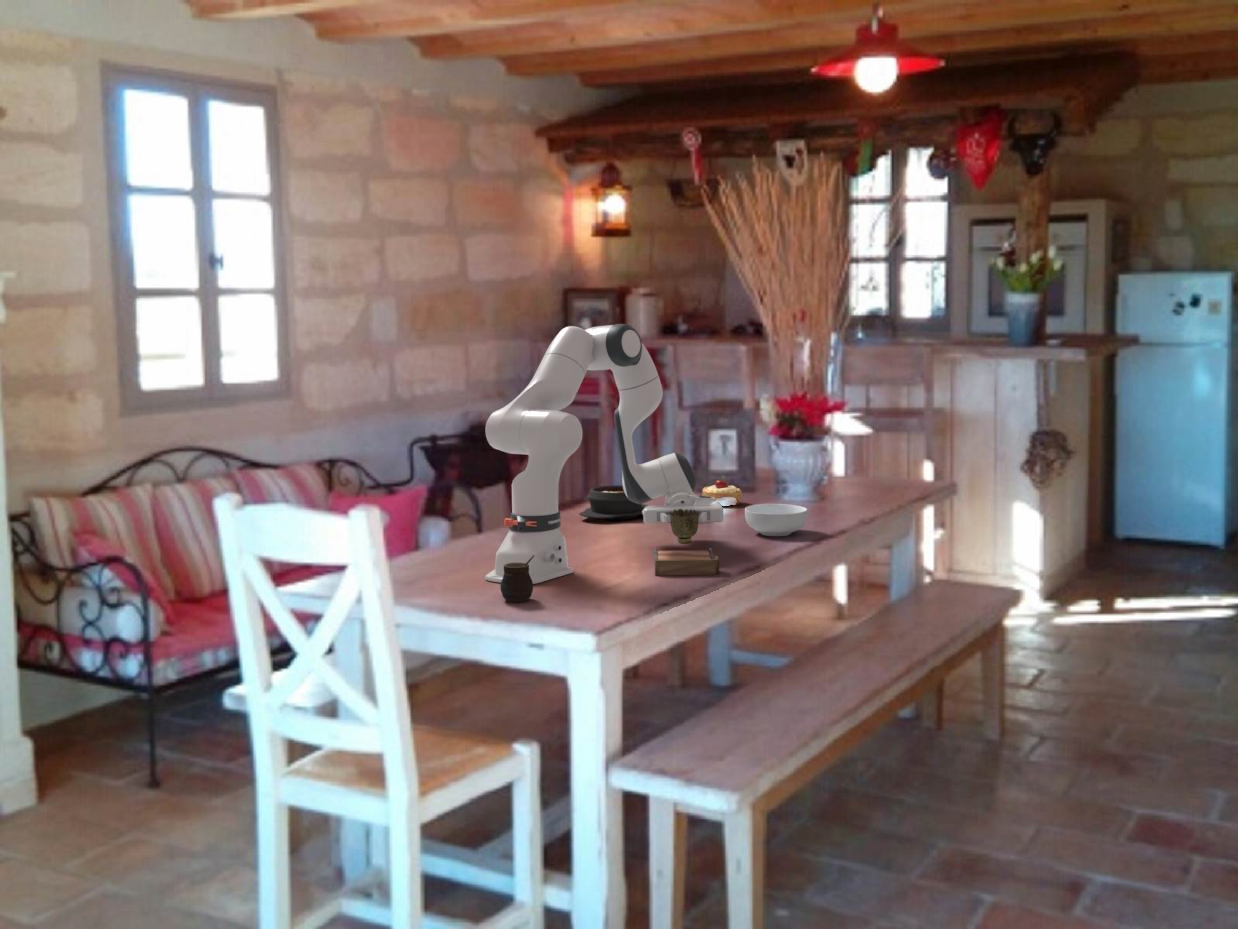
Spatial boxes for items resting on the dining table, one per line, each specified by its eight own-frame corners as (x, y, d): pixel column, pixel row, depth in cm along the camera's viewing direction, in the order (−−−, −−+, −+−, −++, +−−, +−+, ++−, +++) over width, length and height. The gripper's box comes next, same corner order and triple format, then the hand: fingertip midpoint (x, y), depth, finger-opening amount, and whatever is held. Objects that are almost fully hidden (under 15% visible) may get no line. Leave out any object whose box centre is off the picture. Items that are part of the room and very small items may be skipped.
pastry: (697, 507, 427) (696, 478, 426) (708, 501, 438) (708, 472, 437) (735, 509, 423) (735, 479, 421) (746, 502, 434) (745, 474, 432)
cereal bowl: (777, 542, 369) (777, 515, 369) (732, 534, 382) (731, 508, 381) (820, 533, 381) (820, 507, 380) (774, 526, 393) (774, 501, 392)
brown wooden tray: (719, 574, 331) (718, 560, 331) (655, 575, 331) (655, 560, 331) (711, 548, 362) (711, 535, 362) (653, 549, 362) (653, 536, 362)
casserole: (613, 526, 396) (613, 497, 395) (564, 520, 408) (563, 491, 407) (667, 514, 416) (667, 485, 415) (618, 508, 427) (618, 480, 426)
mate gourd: (498, 598, 311) (497, 553, 310) (532, 595, 313) (531, 551, 312) (503, 605, 304) (501, 559, 303) (537, 602, 306) (536, 557, 305)
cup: (689, 547, 345) (688, 515, 344) (664, 544, 349) (663, 512, 348) (705, 541, 351) (705, 510, 350) (680, 538, 355) (680, 507, 354)
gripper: (641, 498, 362) (641, 507, 348) (721, 497, 361) (724, 506, 348) (641, 522, 363) (642, 532, 349) (721, 521, 362) (724, 531, 349)
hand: (684, 519), depth 348 cm, fingers closed on cup, 6 cm apart
